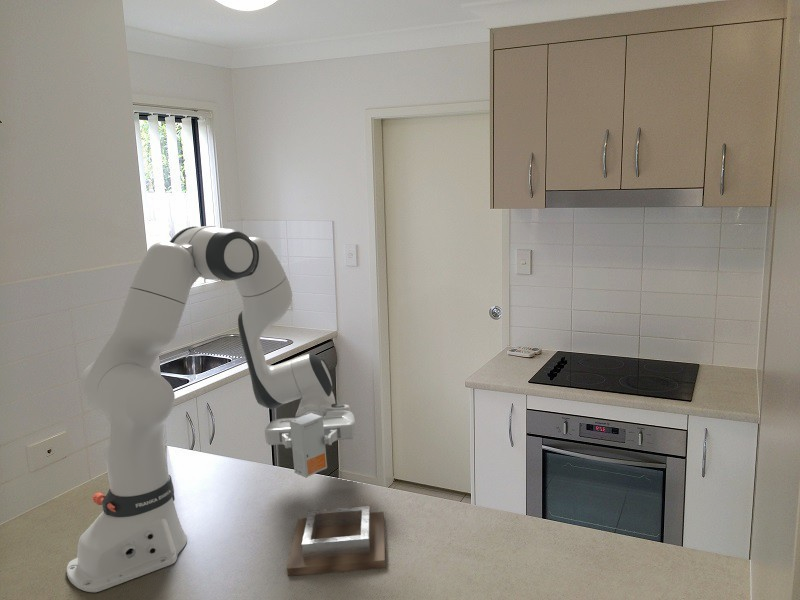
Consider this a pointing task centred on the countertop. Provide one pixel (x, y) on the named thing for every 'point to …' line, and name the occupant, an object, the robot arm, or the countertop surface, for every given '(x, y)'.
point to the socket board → (338, 541)
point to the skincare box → (308, 444)
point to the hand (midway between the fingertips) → (307, 443)
